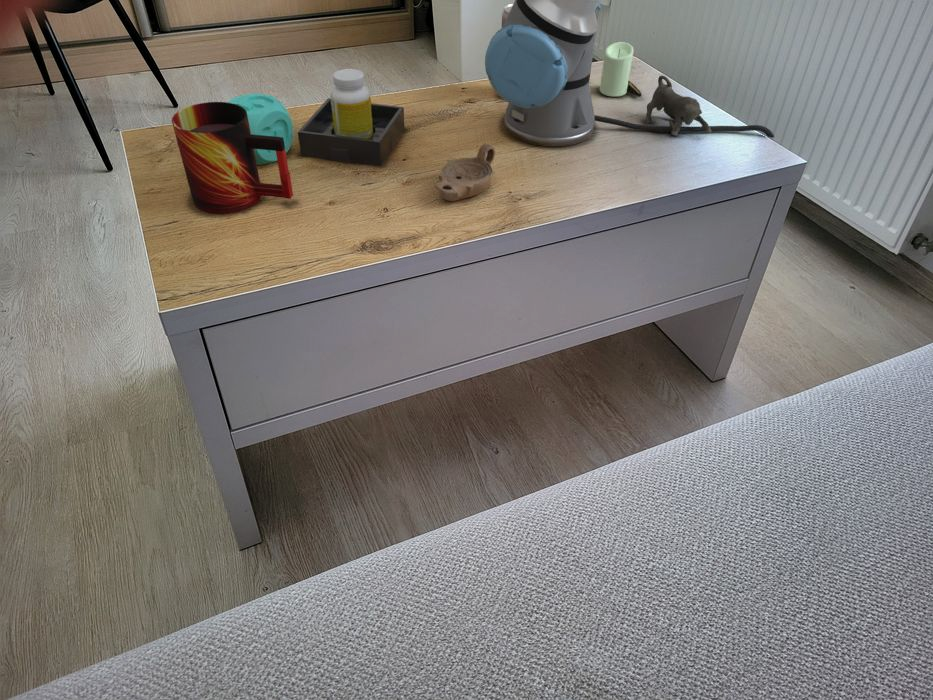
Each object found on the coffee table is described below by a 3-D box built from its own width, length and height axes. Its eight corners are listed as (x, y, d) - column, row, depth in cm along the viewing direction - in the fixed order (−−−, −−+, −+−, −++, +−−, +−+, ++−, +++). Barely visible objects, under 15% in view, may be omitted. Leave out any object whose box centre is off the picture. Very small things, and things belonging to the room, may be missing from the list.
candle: (620, 99, 131) (627, 53, 126) (595, 92, 133) (601, 47, 128) (630, 90, 135) (638, 45, 129) (605, 84, 136) (612, 39, 131)
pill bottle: (381, 141, 117) (377, 74, 110) (352, 154, 113) (346, 85, 106) (356, 130, 120) (350, 63, 113) (327, 142, 116) (319, 74, 109)
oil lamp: (460, 215, 101) (461, 183, 97) (419, 198, 104) (418, 166, 101) (512, 179, 109) (514, 148, 105) (473, 164, 112) (474, 134, 108)
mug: (295, 205, 102) (282, 125, 94) (193, 218, 99) (171, 136, 91) (288, 173, 108) (275, 96, 100) (192, 184, 105) (172, 105, 97)
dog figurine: (638, 118, 126) (646, 76, 121) (663, 112, 128) (672, 70, 123) (685, 146, 118) (696, 102, 113) (711, 139, 120) (722, 95, 115)
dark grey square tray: (405, 129, 120) (404, 118, 119) (381, 166, 111) (380, 154, 109) (330, 120, 122) (328, 109, 121) (300, 156, 113) (298, 144, 111)
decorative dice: (224, 155, 112) (213, 105, 107) (263, 137, 117) (254, 88, 112) (259, 170, 109) (249, 120, 103) (297, 151, 113) (290, 102, 108)
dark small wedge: (609, 73, 142) (608, 65, 141) (614, 71, 142) (614, 64, 141) (638, 100, 131) (638, 92, 130) (644, 98, 132) (644, 90, 131)
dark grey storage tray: (404, 129, 120) (403, 106, 118) (381, 166, 111) (379, 142, 108) (330, 121, 122) (327, 98, 120) (300, 156, 113) (297, 132, 110)
